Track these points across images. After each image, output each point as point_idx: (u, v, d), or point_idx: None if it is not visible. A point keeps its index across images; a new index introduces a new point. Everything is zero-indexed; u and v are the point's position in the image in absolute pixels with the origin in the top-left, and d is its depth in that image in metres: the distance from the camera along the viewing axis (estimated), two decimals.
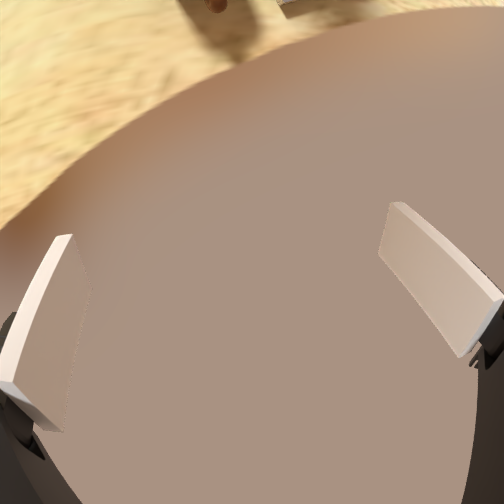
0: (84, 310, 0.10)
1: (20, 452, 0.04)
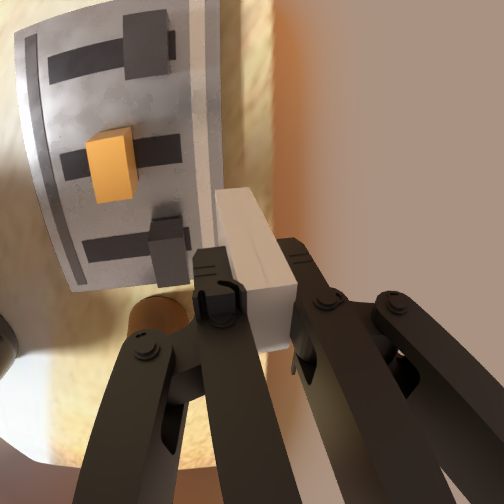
0: None
1: None
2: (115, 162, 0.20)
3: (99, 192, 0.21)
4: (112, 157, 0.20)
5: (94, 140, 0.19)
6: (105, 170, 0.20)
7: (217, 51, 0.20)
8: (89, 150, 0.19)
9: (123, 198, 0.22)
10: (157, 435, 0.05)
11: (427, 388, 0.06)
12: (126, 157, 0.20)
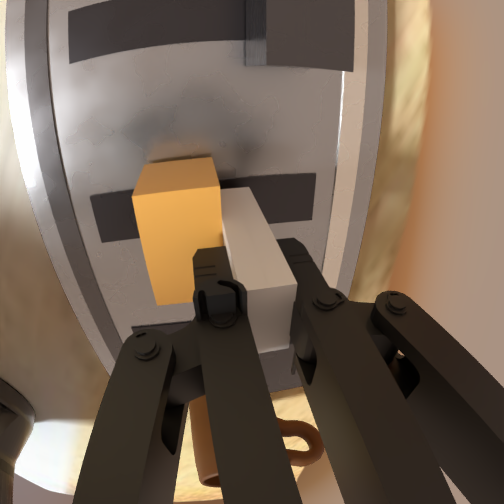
0: None
1: None
2: (198, 237, 0.11)
3: (162, 288, 0.12)
4: (191, 228, 0.11)
5: (152, 191, 0.10)
6: (176, 252, 0.11)
7: (383, 47, 0.11)
8: (141, 212, 0.10)
9: None
10: (158, 435, 0.05)
11: (427, 388, 0.06)
12: None
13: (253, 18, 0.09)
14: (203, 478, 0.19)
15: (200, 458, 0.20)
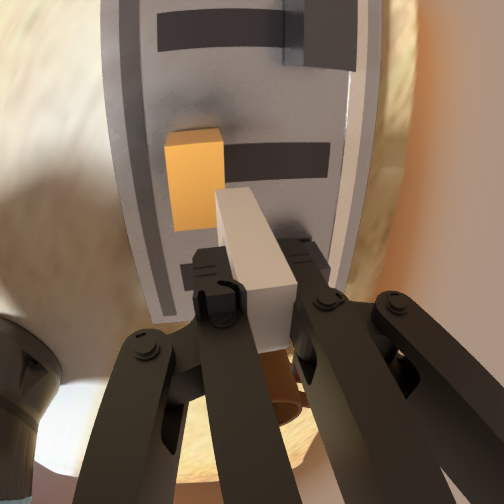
0: None
1: None
2: (208, 177, 0.16)
3: (179, 216, 0.17)
4: (203, 170, 0.15)
5: (177, 144, 0.15)
6: (192, 187, 0.16)
7: (378, 54, 0.16)
8: (169, 158, 0.15)
9: (213, 225, 0.17)
10: (158, 435, 0.05)
11: (427, 388, 0.06)
12: (223, 171, 0.16)
13: (292, 34, 0.13)
14: None
15: None
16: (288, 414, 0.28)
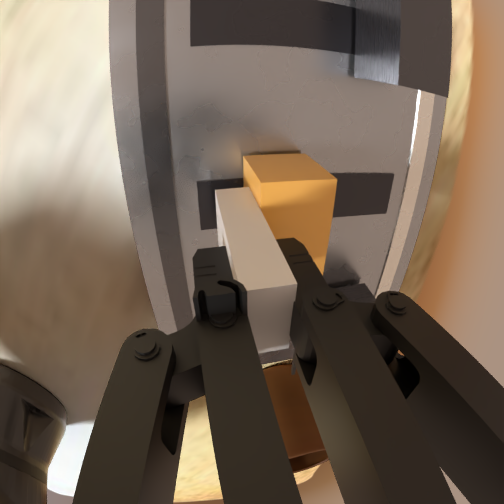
0: None
1: None
2: (312, 224, 0.12)
3: None
4: (308, 215, 0.12)
5: (278, 179, 0.11)
6: (290, 237, 0.12)
7: None
8: (267, 199, 0.11)
9: None
10: (158, 435, 0.05)
11: (427, 388, 0.06)
12: None
13: (372, 40, 0.10)
14: None
15: None
16: (321, 455, 0.24)
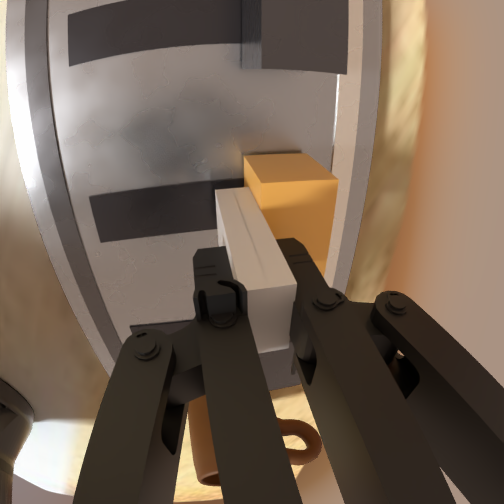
0: None
1: None
2: (313, 225, 0.12)
3: None
4: (309, 216, 0.12)
5: (278, 180, 0.11)
6: None
7: (378, 49, 0.11)
8: (267, 199, 0.11)
9: None
10: (158, 435, 0.05)
11: (427, 388, 0.06)
12: None
13: (249, 22, 0.09)
14: (201, 477, 0.19)
15: (198, 457, 0.20)
16: None
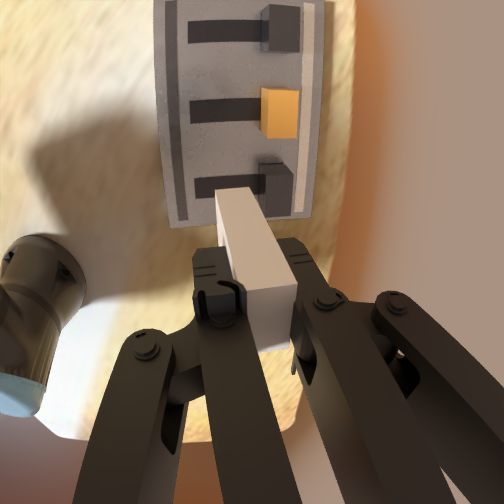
0: None
1: None
2: (289, 109, 0.27)
3: (271, 129, 0.28)
4: (287, 104, 0.27)
5: (275, 89, 0.26)
6: (280, 113, 0.27)
7: (322, 43, 0.27)
8: (270, 96, 0.26)
9: (289, 137, 0.29)
10: (158, 435, 0.05)
11: (427, 388, 0.06)
12: (297, 107, 0.27)
13: (264, 34, 0.24)
14: None
15: None
16: None
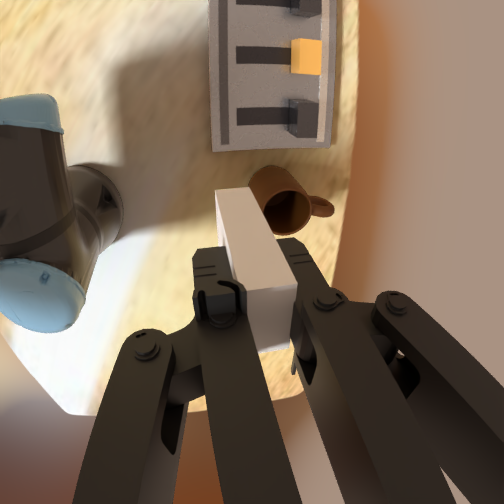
0: None
1: None
2: (315, 53, 0.32)
3: (302, 67, 0.33)
4: (314, 50, 0.32)
5: None
6: (309, 56, 0.33)
7: (335, 11, 0.32)
8: (301, 42, 0.31)
9: (315, 73, 0.34)
10: (157, 435, 0.05)
11: (427, 388, 0.06)
12: (320, 52, 0.33)
13: (294, 1, 0.29)
14: (264, 202, 0.40)
15: (262, 194, 0.41)
16: (302, 221, 0.43)
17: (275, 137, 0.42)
